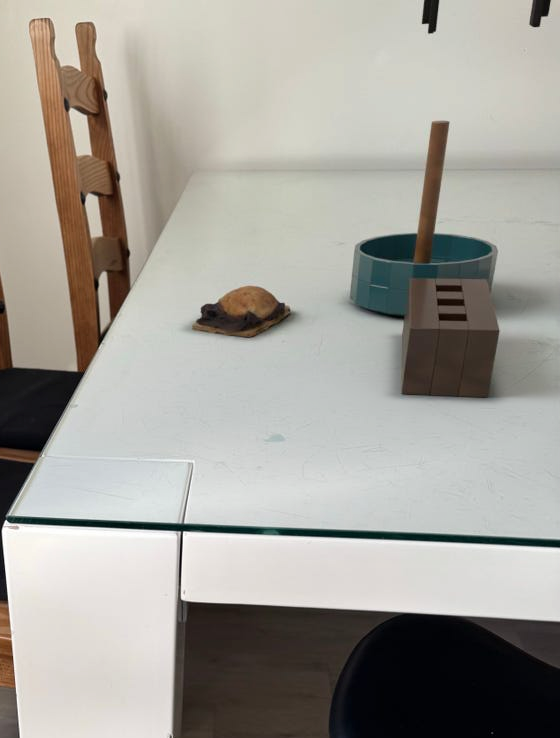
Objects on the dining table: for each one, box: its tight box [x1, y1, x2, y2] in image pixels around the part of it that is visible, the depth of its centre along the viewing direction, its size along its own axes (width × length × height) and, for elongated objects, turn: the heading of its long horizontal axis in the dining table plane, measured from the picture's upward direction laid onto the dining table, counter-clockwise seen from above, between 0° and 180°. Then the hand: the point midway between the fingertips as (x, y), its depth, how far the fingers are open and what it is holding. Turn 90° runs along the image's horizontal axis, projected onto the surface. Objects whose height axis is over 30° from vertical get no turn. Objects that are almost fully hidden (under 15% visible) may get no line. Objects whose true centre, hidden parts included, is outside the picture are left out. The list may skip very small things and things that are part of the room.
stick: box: [413, 120, 450, 263], centre depth 110 cm, size 2×2×18 cm
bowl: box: [349, 232, 499, 318], centre depth 113 cm, size 15×15×6 cm
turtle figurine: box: [191, 285, 292, 338], centre depth 111 cm, size 11×8×4 cm
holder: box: [400, 278, 501, 398], centre depth 95 cm, size 7×17×6 cm, turn 165°
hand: (482, 29), depth 99 cm, fingers open, 9 cm apart
